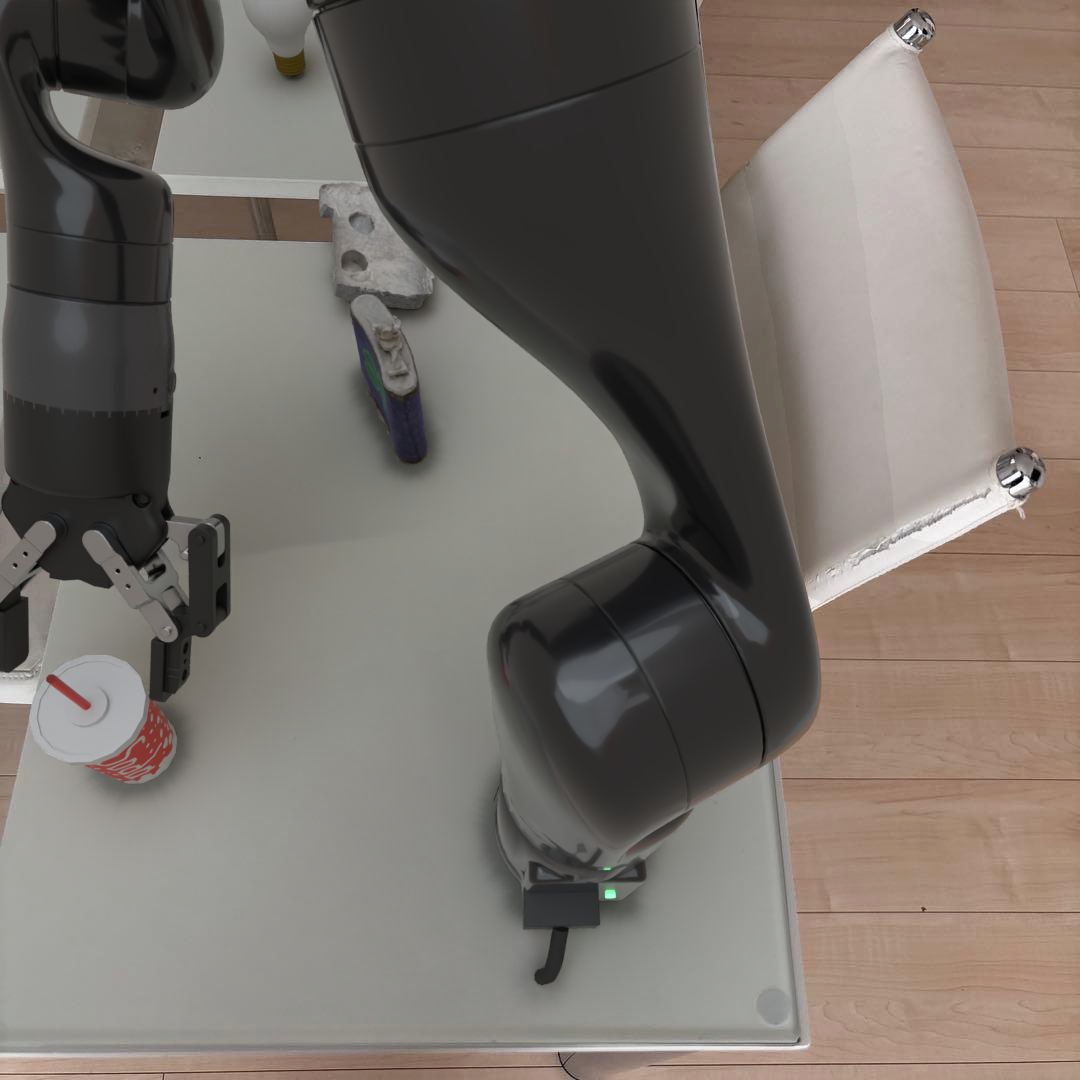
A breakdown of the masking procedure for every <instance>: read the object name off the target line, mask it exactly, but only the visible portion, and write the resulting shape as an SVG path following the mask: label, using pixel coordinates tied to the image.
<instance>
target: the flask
mask: <svg viewBox="0 0 1080 1080" xmlns="http://www.w3.org/2000/svg"><path fill="white" fill-rule="evenodd" d="M349 314H350V315H349V316H350V318H351V324H352V327H353V333H354V337H355V342H356V346H357V352H358V353H357V354H358V358H359V364H360V370H361V378H362V382H363V385H364V387H365V389H366V393H367V396H370V397H371V399H372V401H373V404H374V406H375V411H376V413H377V414H376V416H378V419H379V421H381V423H383V424H384V425H386V428H387V430H386V432H385V433H386V434H388V435H389V437H390V438H391V443H392V444H391V446H392V447H393V452H394V453H395V455H396V459H397V460H398V461H400V462H402V463H404V464H406V465H408V466H409V467H412V465H417V464H420V463H422V462H423V461H424V460H425V459H427V456H428V452H429V450H428V440H427V437H426V433H425V425H424V424H425V423H424V418H423V417H424V416H423V407H422V402H421V401H422V399H421V391H420V390H421V389H420V379H419V375H418V370H417V366H416V362H415V358H414V357H415V356H414V355H413V352H412V349H411V346H410V344H409V342H408V339H407V338H406V335H405V334H404V332H403V330H402V328H401V327H402V321H401V319H398V317H397V316H396V315H394V314H393V313H391V310H390V309H389V307H386V306H385V305H384V304H383V302H382V301H381V300H380V299H379V298H377V297H376V296H374V295H367V294H365V295H359V296H357V297H356V298H355V299H354V300H353V301H350V303H349Z"/></svg>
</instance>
